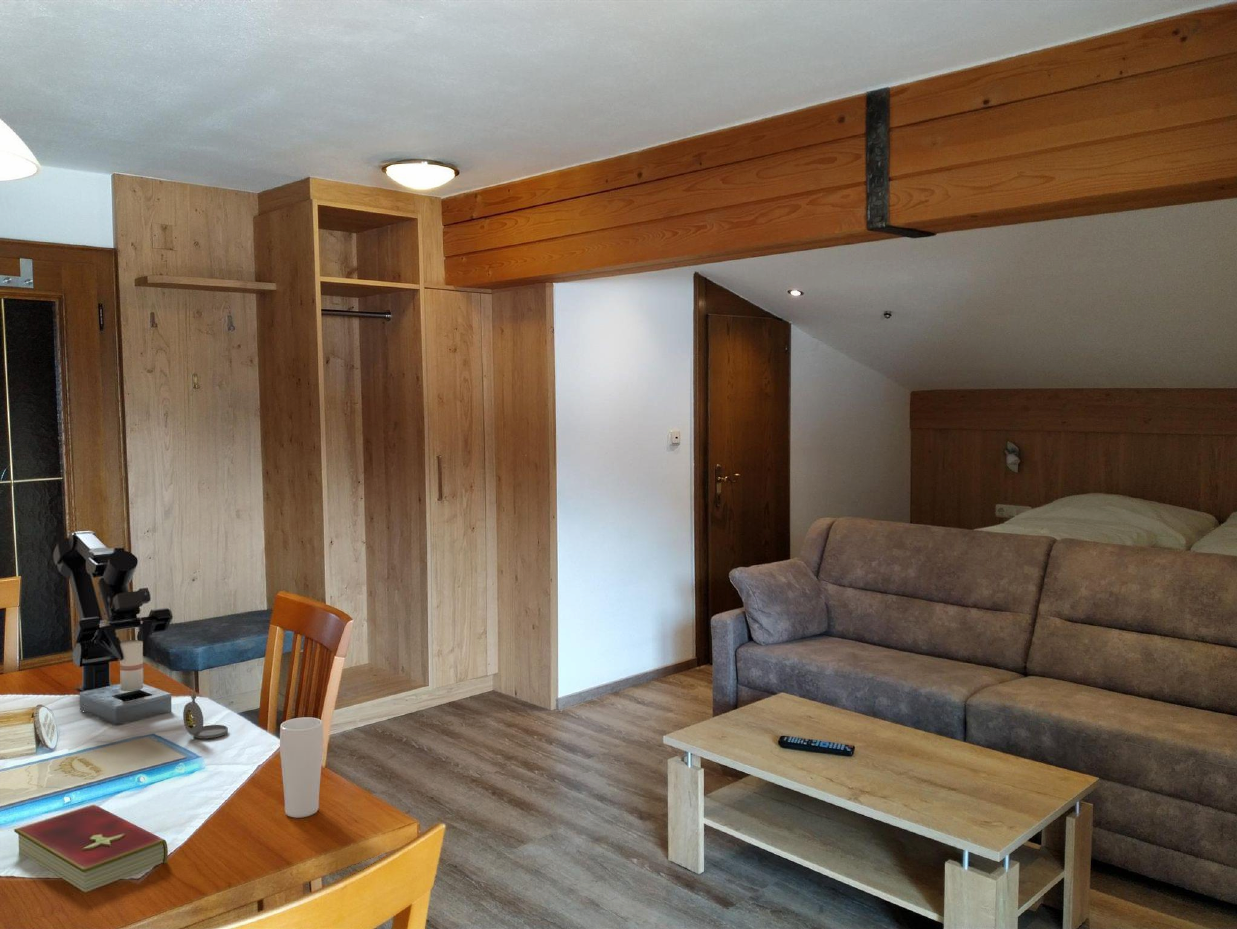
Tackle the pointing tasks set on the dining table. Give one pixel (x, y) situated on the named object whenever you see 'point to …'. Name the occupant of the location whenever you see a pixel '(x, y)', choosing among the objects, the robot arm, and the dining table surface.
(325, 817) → the dining table surface
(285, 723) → the drinking glass
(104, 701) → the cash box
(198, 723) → the pocket watch
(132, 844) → the hardcover book
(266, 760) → the dining table surface
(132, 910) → the dining table surface
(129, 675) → the coin roll
